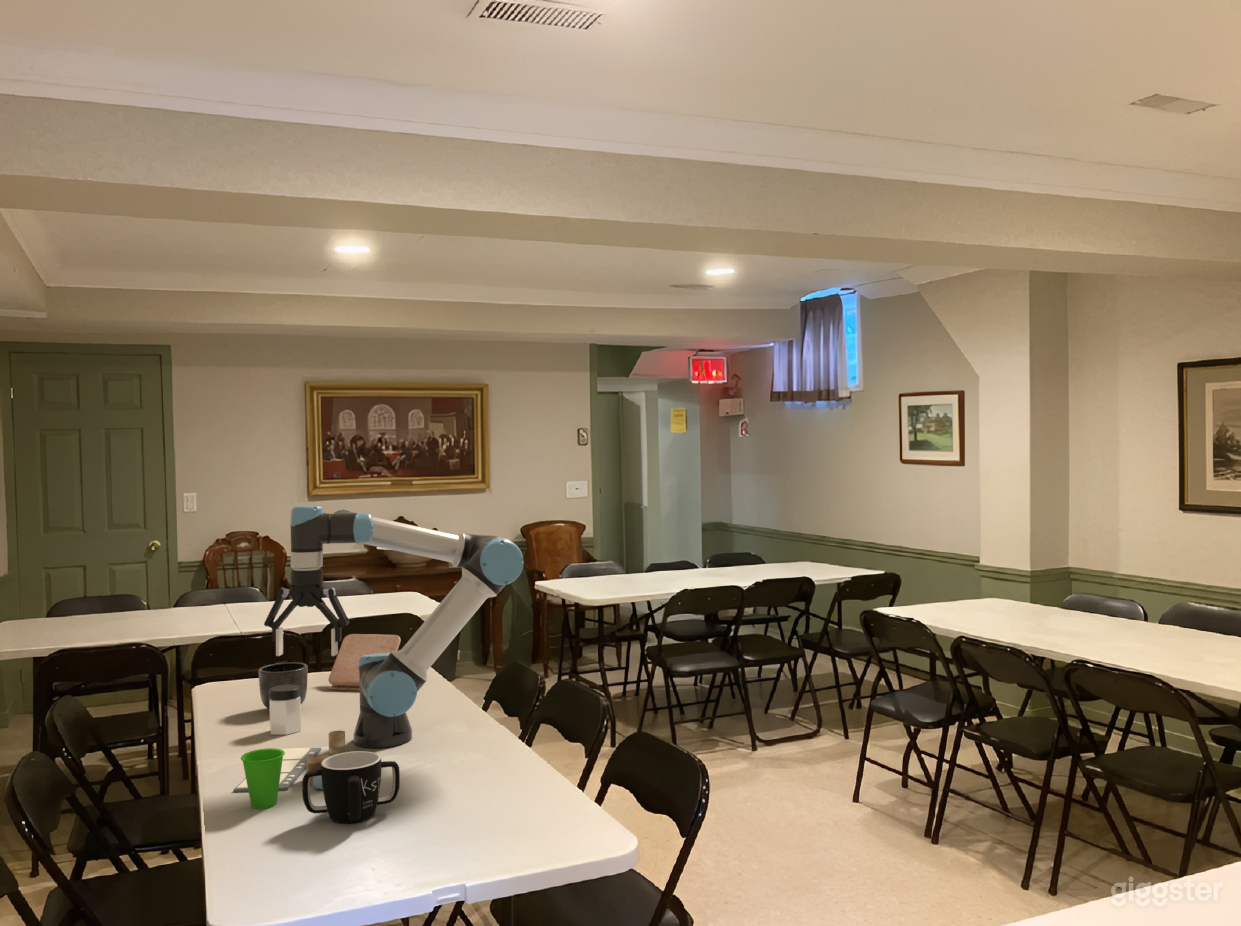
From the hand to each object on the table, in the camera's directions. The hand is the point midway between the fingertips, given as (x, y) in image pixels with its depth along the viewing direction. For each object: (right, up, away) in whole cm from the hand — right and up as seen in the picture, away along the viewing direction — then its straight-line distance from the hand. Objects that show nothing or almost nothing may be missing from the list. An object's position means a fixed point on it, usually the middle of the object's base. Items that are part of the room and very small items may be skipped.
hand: (307, 654), depth 237 cm
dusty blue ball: (+9, -27, -17) cm, 33 cm away
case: (-7, -27, +85) cm, 89 cm away
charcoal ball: (+7, -27, -4) cm, 28 cm away
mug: (+21, -27, -35) cm, 49 cm away
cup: (-1, -28, -27) cm, 38 cm away
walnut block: (+7, -27, -12) cm, 30 cm away
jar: (-16, -27, +30) cm, 44 cm away
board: (-5, -27, -3) cm, 28 cm away
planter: (-24, -27, +53) cm, 64 cm away
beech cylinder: (+6, -27, +6) cm, 28 cm away
